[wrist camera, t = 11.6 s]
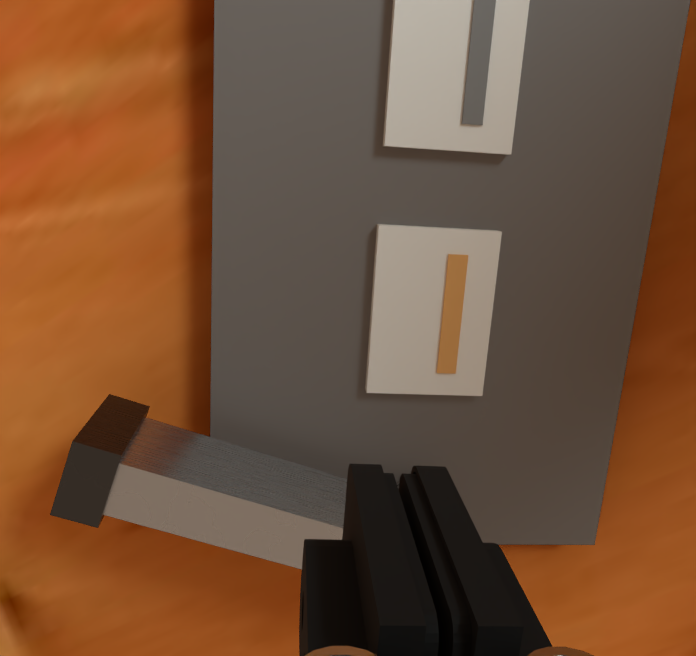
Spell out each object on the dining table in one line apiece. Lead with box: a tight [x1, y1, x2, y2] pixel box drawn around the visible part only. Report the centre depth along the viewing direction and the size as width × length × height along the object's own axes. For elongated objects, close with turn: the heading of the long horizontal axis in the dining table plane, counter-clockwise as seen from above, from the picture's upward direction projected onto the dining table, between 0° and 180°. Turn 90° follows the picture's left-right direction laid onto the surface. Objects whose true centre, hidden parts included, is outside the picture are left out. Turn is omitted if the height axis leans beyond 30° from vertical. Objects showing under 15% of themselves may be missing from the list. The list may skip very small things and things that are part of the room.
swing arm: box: [50, 394, 399, 569], centre depth 25 cm, size 15×3×5 cm, turn 69°
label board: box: [210, 0, 690, 545], centre depth 27 cm, size 26×18×2 cm
